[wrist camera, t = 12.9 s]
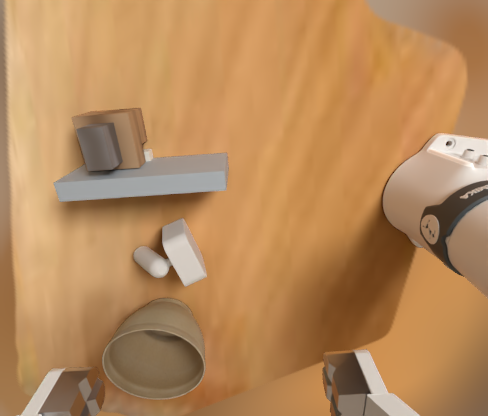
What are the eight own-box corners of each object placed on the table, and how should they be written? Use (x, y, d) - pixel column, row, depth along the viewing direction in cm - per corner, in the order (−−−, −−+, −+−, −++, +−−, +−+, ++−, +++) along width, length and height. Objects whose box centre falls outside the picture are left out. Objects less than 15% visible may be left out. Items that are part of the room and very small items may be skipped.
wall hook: (123, 237, 50) (114, 267, 41) (181, 211, 51) (185, 235, 42) (146, 275, 54) (142, 311, 44) (201, 249, 54) (208, 280, 45)
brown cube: (140, 107, 43) (117, 116, 35) (150, 157, 46) (130, 176, 37) (91, 111, 43) (55, 121, 35) (104, 160, 46) (74, 180, 38)
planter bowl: (116, 333, 60) (91, 386, 50) (138, 270, 54) (116, 316, 44) (193, 356, 63) (185, 410, 53) (223, 299, 57) (220, 347, 47)
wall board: (226, 143, 45) (223, 159, 37) (228, 169, 46) (226, 190, 38) (84, 153, 45) (49, 172, 37) (91, 178, 47) (59, 201, 39)
